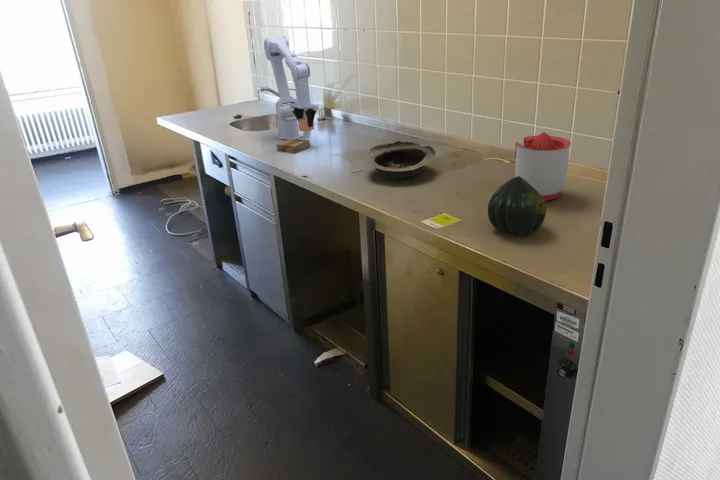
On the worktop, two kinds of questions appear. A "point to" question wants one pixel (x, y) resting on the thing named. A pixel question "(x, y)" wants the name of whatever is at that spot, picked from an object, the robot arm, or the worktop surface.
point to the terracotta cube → (304, 125)
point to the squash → (517, 207)
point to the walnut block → (293, 145)
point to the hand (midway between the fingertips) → (306, 126)
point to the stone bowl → (399, 159)
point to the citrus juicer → (543, 163)
